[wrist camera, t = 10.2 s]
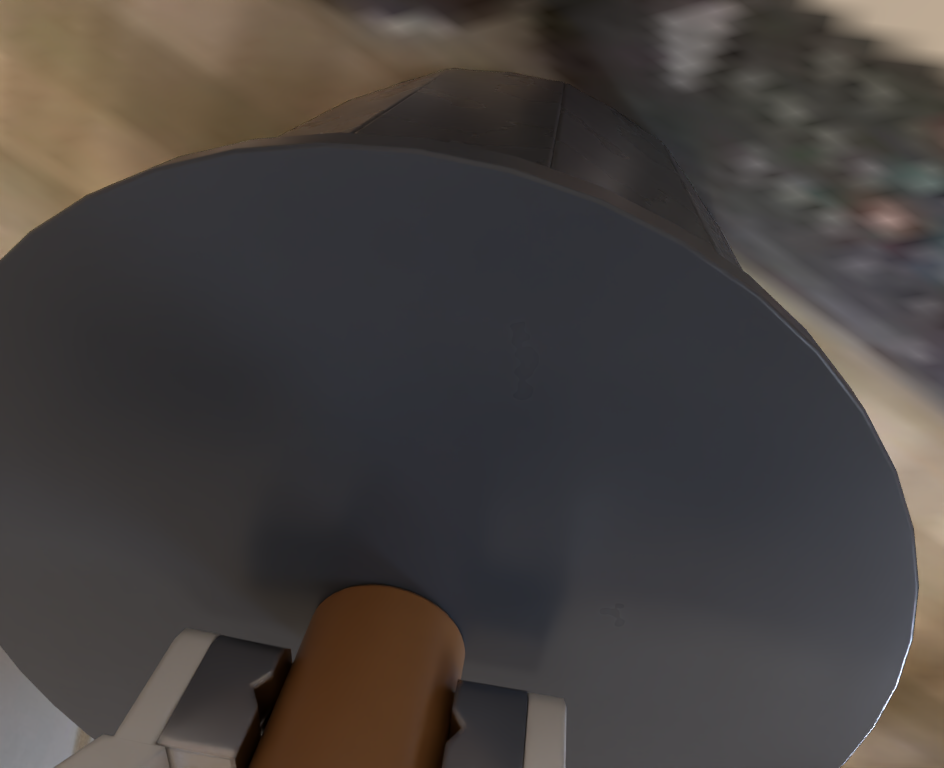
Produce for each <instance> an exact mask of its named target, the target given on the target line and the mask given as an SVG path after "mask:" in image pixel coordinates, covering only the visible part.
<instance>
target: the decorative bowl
mask: <svg viewBox="0 0 944 768" xmlns="http://www.w3.org/2000/svg"><path fill="white" fill-rule="evenodd" d="M92 741H94V739H93V738H92V737H90V736H89V735H87V734H86V733H85V732H84V731H83V730H82V729H81V728H79V727H78V726H77V725H76V724H75V723H74V722H72V721H71V720H70V719H69V718H68V717H67V716H66V715H64V714H63V713H62V712H61V711H60V710H59V709H57V708H56V707H55V706H54V705H53V704H52V703H51V702H50V701H49V700H48V699H47V698H46V697H45V696H44V695H43V694H42V693H41V692H40V691H39V690H38V689H37V688H36V687H35V686H34V685H33V684H32V683H31V682H30V681H29V680H28V679H27V677H26V676H25V675H24V674H23V673H22V672H21V671H20V670H19V669H18V668H17V666H16V665H15V664H14V663H13V661H12V660H11V659H10V658H9V656H8V655H7V654H6V653H5V651H4V650H3V649H2V648H1V646H0V768H53V767H55V766H56V765H58V764H59V763H61V762H62V761H64V760H65V759H67V758H68V757H70V756H71V755H73V754H74V753H76V752H77V751H79V750H80V749H82V748H83V747H85V746H86V745H88V744H89V743H91V742H92Z"/></svg>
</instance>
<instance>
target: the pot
mask: <svg viewBox="0 0 944 768" xmlns="http://www.w3.org/2000/svg"><path fill="white" fill-rule="evenodd" d="M337 132H340V133H355V134H371V135H386V136H402V137H417V138H428V139H433V140H438V141H443V142H448V143H453V144H458V145H463V146H467V147H472V148H477V149H482V150H487V151H492V152H497V153H502V154H507V155H512V156H516V157H519V158H522V159H524V160H527V161H530V162H533V163H536V164H539V165H542V166H545V167H547V168H550V169H553V170H556V171H559V172H562V173H565V174H567V175H570V176H573V177H576V178H579V179H582V180H585V181H587V182H590V183H593V184H596V185H599V186H602V187H603V188H605V189H607V190H609V191H611V192H613V193H615V194H617V195H619V196H621V197H623V198H625V199H627V200H629V201H631V202H633V203H635V204H637V205H639V206H641V207H643V208H645V209H647V210H648V211H650V212H652V213H654V214H656V215H658V216H660V217H662V218H664V219H666V220H668V221H670V222H672V223H674V224H676V225H678V226H680V227H681V228H683V229H684V230H686V231H687V232H688V233H690V234H691V235H693V236H694V237H696V238H697V239H698V240H700V241H701V242H703V243H704V244H705V245H707V246H708V247H710V248H711V249H713V250H714V251H715V252H717V253H718V254H720V255H721V256H723V257H724V258H725V259H727V260H728V261H730V262H731V263H732V264H734V265H735V266H737V267H738V268H740V269H741V270H742V268H741V266H740V265H739V263H738V261H737V259H736V257H735V256H734V254H733V252H732V250H731V248H730V246H729V245H728V243H727V241H726V239H725V237H724V236H723V234H722V232H721V230H720V229H719V227H718V226H717V224H716V222H715V221H714V219H713V218H712V216H711V215H710V213H709V212H708V210H707V209H706V207H705V206H704V204H703V203H702V201H701V199H700V198H699V196H698V195H697V193H696V192H695V190H694V189H693V187H692V185H691V183H690V182H689V181H688V179H687V178H686V177H685V175H684V173H683V172H682V170H681V169H680V167H679V166H678V164H677V163H676V161H675V160H674V158H673V157H672V155H671V154H670V152H669V151H668V149H667V147H666V146H665V145H663V144H662V142H661V141H660V140H658V139H657V138H655V137H653V136H652V135H650V134H649V133H647V132H645V131H644V130H642V129H641V128H639V127H638V126H637V125H635V124H634V123H633V122H631V121H630V120H628V119H627V118H626V117H624V116H623V115H622V114H620V113H619V112H617V111H616V110H615V109H613V108H611V107H609V106H607V105H605V104H603V103H601V102H599V101H598V100H596V99H594V98H592V97H590V96H588V95H586V94H584V93H582V92H581V91H579V90H578V89H576V88H574V87H573V86H571V85H569V84H565V83H564V82H560V81H553V80H546V79H541V78H536V77H531V76H526V75H521V74H516V73H511V72H493V71H475V70H466V69H458V68H452V69H445V70H442V71H439V72H436V73H433V74H430V75H426V76H423V77H420V78H417V79H413V80H409V81H405V82H401V83H399V84H396V85H394V86H391V87H389V88H386V89H383V90H380V91H377V92H374V93H370V94H367V95H364V96H361V97H358V98H355V99H352V100H349V101H347V102H345V103H343V104H341V105H339V106H337V107H335V108H333V109H331V110H329V111H327V112H325V113H323V114H321V115H320V116H318V117H316V118H314V119H312V120H310V121H308V122H306V123H304V124H302V125H300V126H298V127H296V128H294V129H292V130H290V131H288V132H286V133H284V134H282V135H280V136H278V137H286V136H299V135H311V134H324V133H337ZM742 271H743V270H742Z"/></svg>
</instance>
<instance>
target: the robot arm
mask: <svg viewBox="0 0 944 768" xmlns="http://www.w3.org/2000/svg"><path fill="white" fill-rule="evenodd" d="M291 666H292V655H291V649H289V648H284V647H279V646H274V645H269V644H264V643H259V642H254V641H249V640H244V639H239V638H234V637H229V636H224V635H222V634H216V633H211V632H206V631H200V630H195V629H189V628H185V629H184V630H183V631H182V632H181V633H180V634H179V635H178V636H177V637H176V638H175V639H174V640H173V642H172V644H171V645H170V647H169V648H168V650H167V652H166V653H165V655H164V656H163V658H162V660H161V661H160V663H159V664H158V666H157V668H156V669H155V671H154V672H153V674H152V676H151V677H150V679H149V680H148V682H147V684H146V685H145V687H144V688H143V690H142V692H141V693H140V695H139V696H138V698H137V700H136V701H135V703H134V704H133V706H132V708H131V709H130V711H129V712H128V714H127V716H126V717H125V719H124V720H123V722H122V724H121V725H120V727H119V728H118V730H117V732H116V733H115V735H114V736H111V735H105V734H103V735H101V736H100V737H98V738H97V739H95V740H94V741H92V742H91V743H89V744H88V745H86V746H85V747H83V748H82V749H80V750H79V751H77V752H76V753H74V754H73V755H71V756H70V757H68V758H67V759H65V760H64V761H62V762H61V763H59V764H58V765H56V766H55V767H53V768H248V767H249V765H250V762H251V760H252V758H253V755H254V753H255V751H256V748H257V746H258V744H259V741H260V739H261V737H262V734H263V732H264V729H265V727H266V725H267V722H268V720H269V718H270V715H271V713H272V711H273V708H274V706H275V704H276V701H277V699H278V697H279V694H280V692H281V689H282V687H283V685H284V682H285V680H286V678H287V675H288V673H289V671H290V668H291ZM565 760H566V705H565V702H564V698H558V697H552V696H546V695H540V694H534V693H527V691H525V690H519V689H513V688H507V687H501V686H495V685H489V684H483V683H477V682H472V681H466V680H460V679H458V681H457V686H456V691H455V696H454V701H453V707H452V713H451V719H450V726H449V732H448V742H447V743H446V746H445V752H444V757H443V763H442V768H565Z"/></svg>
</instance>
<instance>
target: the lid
mask: <svg viewBox="0 0 944 768" xmlns="http://www.w3.org/2000/svg"><path fill="white" fill-rule="evenodd" d="M918 590H919V581H918V570H917V558H916V547H915V536H914V528H913V525H912V521H911V518H910V515H909V511H908V508H907V505H906V501H905V498H904V494H903V491H902V488H901V484H900V481H899V478H898V474H897V471H896V469H895V467H894V465H893V463H892V461H891V459H890V457H889V455H888V453H887V451H886V449H885V447H884V445H883V444H882V442H881V440H880V438H879V436H878V434H877V432H876V430H875V428H874V426H873V424H872V422H871V420H870V418H869V417H868V415H867V413H866V411H865V409H864V407H863V406H862V404H861V403H860V401H859V400H858V398H857V397H856V395H855V394H854V392H853V391H852V389H851V388H850V386H849V385H848V384H847V382H846V381H845V380H844V379H843V377H842V376H841V375H840V373H839V372H838V371H837V369H836V368H835V367H834V365H833V364H832V363H831V361H830V360H829V359H828V357H827V356H826V355H825V354H824V352H823V351H822V350H821V348H820V347H819V346H818V344H817V343H816V342H815V340H814V339H813V338H812V336H811V335H810V334H809V333H808V331H807V330H806V329H805V328H804V327H803V326H802V325H801V324H800V323H799V322H798V321H797V320H796V319H795V318H794V317H793V316H791V315H790V314H789V313H788V312H787V311H786V310H785V309H784V308H783V307H782V306H781V305H780V304H779V303H778V302H777V301H776V300H775V299H774V298H773V297H772V296H770V295H769V294H768V293H767V292H766V291H765V290H764V289H763V288H762V287H761V286H760V285H759V284H758V283H757V282H756V281H755V280H754V279H753V278H752V277H751V276H749V275H748V274H747V273H745V272H744V271H742V270H741V269H740V268H738V267H737V266H735V265H734V264H732V263H731V262H730V261H728V260H727V259H725V258H724V257H723V256H721V255H720V254H718V253H717V252H715V251H714V250H713V249H711V248H710V247H708V246H707V245H705V244H704V243H703V242H701V241H700V240H698V239H697V238H696V237H694V236H693V235H691V234H690V233H688V232H687V231H686V230H684V229H683V228H681V227H680V226H678V225H676V224H674V223H672V222H670V221H668V220H666V219H664V218H662V217H660V216H658V215H656V214H654V213H652V212H650V211H648V210H647V209H645V208H643V207H641V206H639V205H637V204H635V203H633V202H631V201H629V200H627V199H625V198H623V197H621V196H619V195H617V194H615V193H613V192H611V191H609V190H607V189H605V188H603V187H602V186H599V185H596V184H593V183H590V182H587V181H585V180H582V179H579V178H576V177H573V176H570V175H567V174H565V173H562V172H559V171H556V170H553V169H550V168H547V167H545V166H542V165H539V164H536V163H533V162H530V161H527V160H524V159H522V158H519V157H516V156H512V155H507V154H502V153H497V152H492V151H487V150H482V149H477V148H472V147H467V146H463V145H458V144H453V143H448V142H443V141H438V140H433V139H428V138H417V137H402V136H386V135H371V134H355V133H340V132H337V133H324V134H311V135H299V136H286V137H273V138H260V139H252V140H248V141H244V142H239V143H235V144H231V145H227V146H222V147H218V148H214V149H209V150H205V151H201V152H197V153H192V154H188V155H184V156H179V157H177V158H174V159H172V160H169V161H167V162H165V163H162V164H160V165H157V166H155V167H152V168H150V169H148V170H145V171H143V172H140V173H138V174H136V175H133V176H131V177H128V178H126V179H123V180H121V181H119V182H116V183H114V184H111V185H109V186H107V187H104V188H102V189H100V190H97V191H95V192H93V193H90V194H88V195H86V196H85V197H83V198H81V199H80V200H78V201H77V202H75V203H74V204H72V205H71V206H69V207H67V208H66V209H64V210H63V211H61V212H60V213H58V214H57V215H55V216H53V217H52V218H50V219H49V220H47V221H46V222H44V223H42V224H41V225H39V226H38V227H36V228H35V229H33V230H32V231H30V232H29V233H28V234H27V235H26V236H25V237H24V238H23V239H22V240H21V241H20V242H19V243H18V244H16V245H15V246H14V247H13V248H12V249H11V250H10V251H9V252H8V253H7V254H6V255H5V256H4V257H3V258H2V259H1V260H0V646H1V648H2V649H3V650H4V651H5V653H6V654H7V655H8V656H9V658H10V659H11V660H12V661H13V663H14V664H15V665H16V666H17V668H18V669H19V670H20V671H21V672H22V673H23V674H24V675H25V676H26V677H27V679H28V680H29V681H30V682H31V683H32V684H33V685H34V686H35V687H36V688H37V689H38V690H39V691H40V692H41V693H42V694H43V695H44V696H45V697H46V698H47V699H48V700H49V701H50V702H51V703H52V704H53V705H54V706H55V707H56V708H57V709H59V710H60V711H61V712H62V713H63V714H64V715H66V716H67V717H68V718H69V719H70V720H71V721H72V722H74V723H75V724H76V725H77V726H78V727H79V728H81V729H82V730H83V731H84V732H85V733H86V734H87V735H89V736H90V737H92V738H93V739H94V740H95V739H97V738H98V737H100V736H101V735H103V734H105V735H111V736H114V735H115V733H116V732H117V730H118V728H119V727H120V725H121V724H122V722H123V720H124V719H125V717H126V716H127V714H128V712H129V711H130V709H131V708H132V706H133V704H134V703H135V701H136V700H137V698H138V696H139V695H140V693H141V692H142V690H143V688H144V687H145V685H146V684H147V682H148V680H149V679H150V677H151V676H152V674H153V672H154V671H155V669H156V668H157V666H158V664H159V663H160V661H161V660H162V658H163V656H164V655H165V653H166V652H167V650H168V648H169V647H170V645H171V644H172V642H173V640H174V639H175V638H176V637H177V636H178V635H179V634H180V633H181V632H182V631H183V630H184V629H185V628H189V629H195V630H200V631H206V632H211V633H216V634H222V635H224V636H229V637H234V638H239V639H244V640H249V641H254V642H259V643H264V644H269V645H274V646H279V647H284V648H289V649H291V655H292V666H291V668H290V671H289V673H288V675H287V678H286V680H285V682H284V685H283V687H282V689H281V692H280V694H279V697H278V699H277V701H276V704H275V706H274V708H273V711H272V713H271V715H270V718H269V720H268V722H267V725H266V727H265V729H264V732H263V734H262V737H261V739H260V741H259V744H258V746H257V748H256V751H255V753H254V755H253V758H252V760H251V762H250V765H249V767H248V768H442V763H443V757H444V752H445V746H446V743H447V742H448V732H449V726H450V719H451V713H452V707H453V701H454V696H455V691H456V686H457V681H458V679H460V680H466V681H472V682H477V683H483V684H489V685H495V686H501V687H507V688H513V689H519V690H525V691H527V693H534V694H540V695H546V696H552V697H558V698H564V702H565V705H566V760H565V768H840V767H841V766H842V765H844V764H845V763H846V762H847V760H848V759H849V758H850V757H851V755H852V754H853V753H854V752H855V750H856V749H857V748H858V747H859V746H860V744H861V743H862V742H863V741H864V739H865V738H866V737H867V736H868V734H869V733H870V732H871V731H872V730H873V728H874V727H875V725H876V724H877V722H878V720H879V718H880V716H881V715H882V713H883V711H884V709H885V707H886V706H887V704H888V702H889V700H890V698H891V697H892V695H893V693H894V691H895V689H896V688H897V686H898V683H899V680H900V677H901V674H902V671H903V668H904V665H905V662H906V658H907V655H908V652H909V649H910V646H911V643H912V640H913V633H914V625H915V616H916V607H917V599H918Z"/></svg>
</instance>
